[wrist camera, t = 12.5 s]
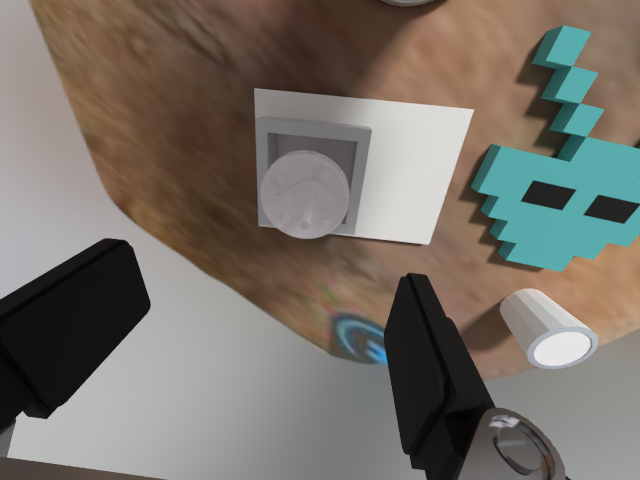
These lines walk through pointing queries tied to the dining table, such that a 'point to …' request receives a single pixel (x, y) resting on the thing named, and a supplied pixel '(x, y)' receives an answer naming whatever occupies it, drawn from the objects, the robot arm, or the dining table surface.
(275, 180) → the smoothie
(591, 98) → the dining table surface
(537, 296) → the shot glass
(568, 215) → the alien figure
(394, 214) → the bottle stand
